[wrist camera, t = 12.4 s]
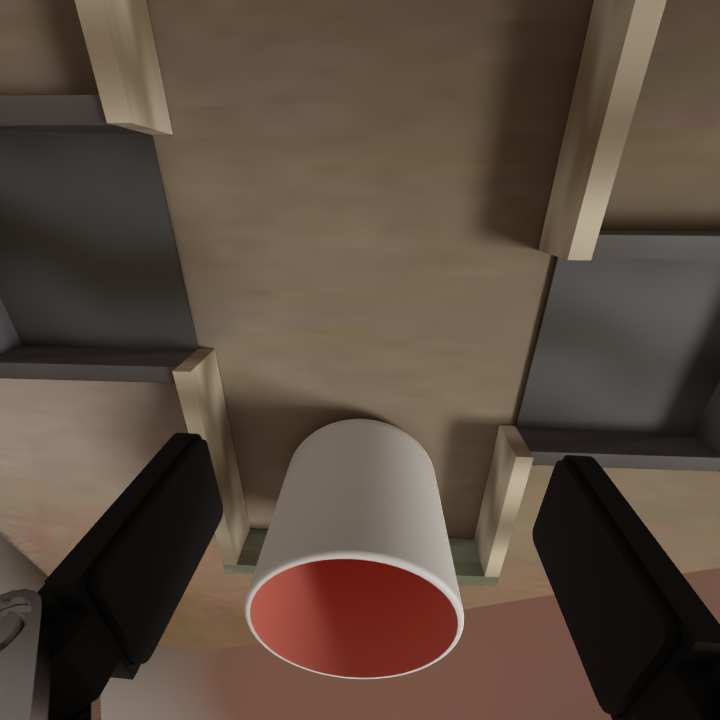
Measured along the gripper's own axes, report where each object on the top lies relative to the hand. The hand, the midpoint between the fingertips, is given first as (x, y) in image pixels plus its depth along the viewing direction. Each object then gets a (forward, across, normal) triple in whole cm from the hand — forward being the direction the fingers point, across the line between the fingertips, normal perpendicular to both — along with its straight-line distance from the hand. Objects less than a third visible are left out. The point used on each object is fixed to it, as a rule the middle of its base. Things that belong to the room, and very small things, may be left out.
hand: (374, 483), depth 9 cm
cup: (+12, +1, +11) cm, 16 cm away
